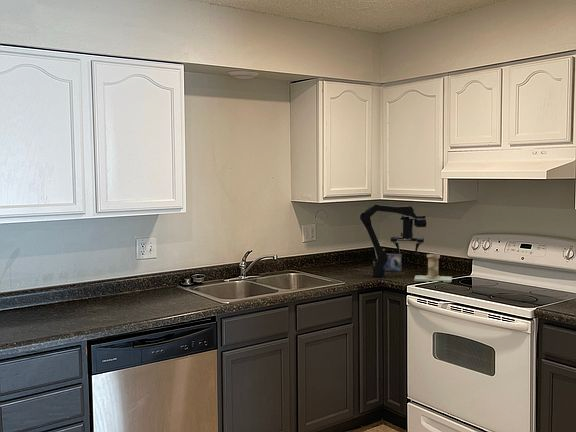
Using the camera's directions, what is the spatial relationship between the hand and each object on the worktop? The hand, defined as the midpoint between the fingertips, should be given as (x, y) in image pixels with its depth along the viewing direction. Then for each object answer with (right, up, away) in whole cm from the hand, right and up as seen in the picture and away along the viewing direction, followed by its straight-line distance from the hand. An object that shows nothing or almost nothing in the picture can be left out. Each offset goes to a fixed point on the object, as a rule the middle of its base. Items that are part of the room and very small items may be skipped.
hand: (407, 254), depth 347 cm
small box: (-5, -12, +21) cm, 25 cm away
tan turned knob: (+12, -13, -10) cm, 20 cm away
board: (+13, -14, -10) cm, 21 cm away
